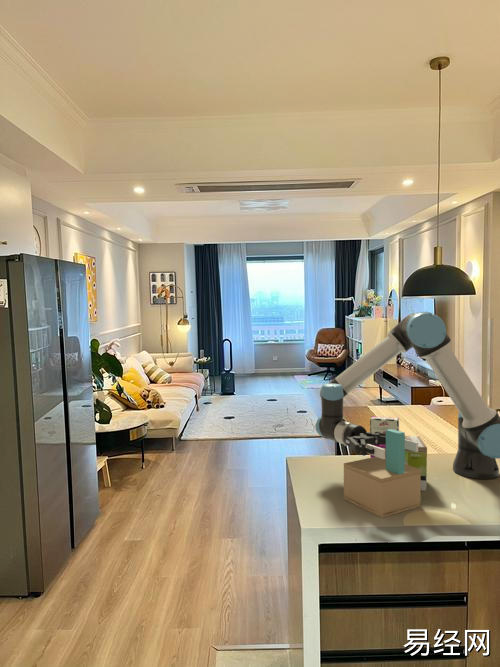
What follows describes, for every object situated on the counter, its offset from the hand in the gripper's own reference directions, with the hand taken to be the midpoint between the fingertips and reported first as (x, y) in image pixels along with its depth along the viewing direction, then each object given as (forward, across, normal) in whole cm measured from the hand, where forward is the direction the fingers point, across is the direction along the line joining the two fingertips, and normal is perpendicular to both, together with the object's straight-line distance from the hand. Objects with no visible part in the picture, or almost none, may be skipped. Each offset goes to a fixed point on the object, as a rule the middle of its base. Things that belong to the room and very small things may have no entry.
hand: (401, 450), depth 129 cm
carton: (-8, 0, -18) cm, 20 cm away
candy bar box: (-40, -35, -18) cm, 56 cm away
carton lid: (-8, 0, -8) cm, 11 cm away
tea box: (-16, -21, -18) cm, 32 cm away
